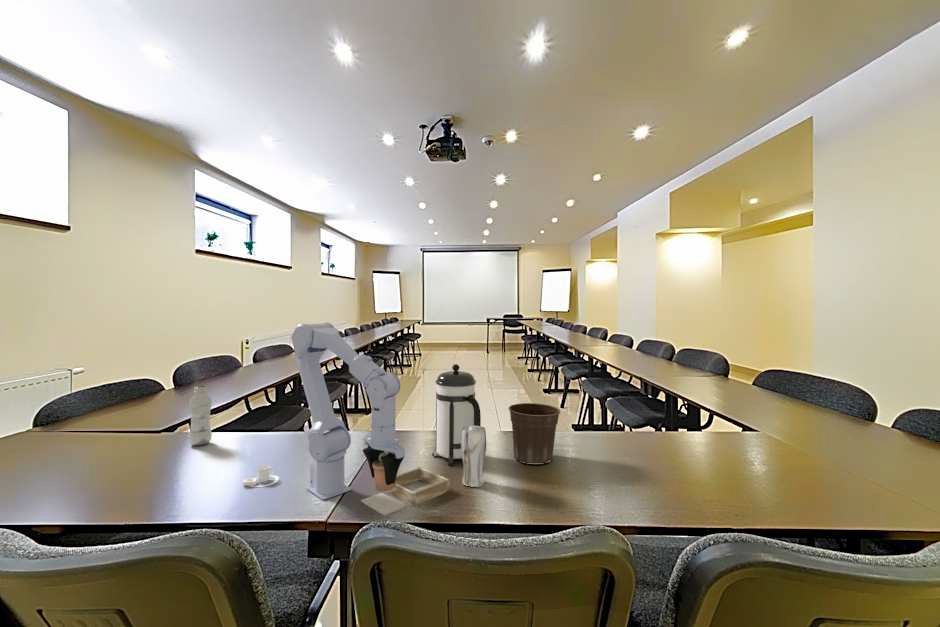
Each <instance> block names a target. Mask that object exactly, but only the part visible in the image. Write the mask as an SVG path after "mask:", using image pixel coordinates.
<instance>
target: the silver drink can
mask: <svg viewBox="0 0 940 627" xmlns="http://www.w3.org/2000/svg"><path fill="white" fill-rule="evenodd" d="M486 433H487V432H486V428H485V427H484V426H482V425H481V426H476V425H471V426H465V427H463V428H462V433H461V454H462V458H461V459H462V464H463V465H462V468H463V474H462V480H461V482H462V483H463V484H464V485H466V486H471V487H473V486H480V485H482V484H484V485H485V478H484V465H485V464H484V463H485V457H486V454H487V453H486V451H487V434H486ZM462 483H461V484H462ZM463 484H462V485H463ZM464 485H463V486H464ZM466 486H465V487H466Z"/></svg>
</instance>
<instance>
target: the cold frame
mask: <svg viewBox="0 0 940 627" xmlns="http://www.w3.org/2000/svg"><path fill="white" fill-rule="evenodd" d="M419 480H420V481H423V482H424V483H427V484H429V485H427V486H426V487H423V488H421V489H418V490H416V491H412V490H410V489H408V488H406V487H404V486H406V485H409V484H410V483H414V482H417V481H419ZM447 491H448V492H450V479H448V478H446V477H445V476H442V475H439V474H437V473H434V472H432V471H430V470H427V469H426V468H423V467H421V466H420V467H419V466H418V467H416V468H414V469H411V470H407V471H405V472H403V473H402V472H401V473H399V474H397V476H396V487H395V488H394V489H392V490H389V491H384V492H386V493H387V494H389V495H391V496H393V497H395V498H396V499H398V500H401V501H402V502H404V503H406V504H408V505H410V506H411V507H415V506H417V505H420V504H422V503H425V502H427V501H429V500H432V499H434V498H437V497H439V496H441V495H443V493H444V494H446V493H448V492H447ZM445 492H446V493H445ZM438 495H439V496H438ZM436 496H437V497H436Z"/></svg>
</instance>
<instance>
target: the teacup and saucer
mask: <svg viewBox="0 0 940 627" xmlns="http://www.w3.org/2000/svg"><path fill="white" fill-rule="evenodd" d="M271 469H273V471H272V473H271V472H270V471H271ZM256 470H257V476H256V477H248V478H245V479H243V480H242V484H243V486H246V487H250V488H264V487H268V486H272V485H274V484H276V483H277V482H279V481H280V477H279V476H278V475H274V473H275V471H276V470H275V467H271V466H270V465H262V466H259V467H257V469H256ZM270 473H271V474H270ZM269 476H270V477H269ZM273 477H274V478H273ZM256 478H258V479H256ZM271 478H273V479H274V481H273V482H272V481H271V483H268V484H263V483H267V482H269V480H270V479H271ZM258 482H259V483H262V484H263V485H257V484H258Z"/></svg>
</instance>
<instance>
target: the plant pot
mask: <svg viewBox="0 0 940 627" xmlns="http://www.w3.org/2000/svg"><path fill="white" fill-rule="evenodd" d="M508 411H509V413H510V414H509V416H510V422H511V428H512V429H511V431H512V444H513V445H512V446H513V448H512V449H513V459H514V460H515V459H517V460H516V461H521V462H525V463H544V462H548V461H550V460H552V461H553V456H554V447H555V438H556V431H557V425H558V422H559V415H560V414H561V410H560V409H559V408H558V407H556V406H553V405H549V404H545V403H544V404H543V403H533V402H528V403H527V402H523V403H515V404H511V405H510V406H508ZM521 462H520V463H521ZM544 464H545V463H544Z"/></svg>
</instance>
